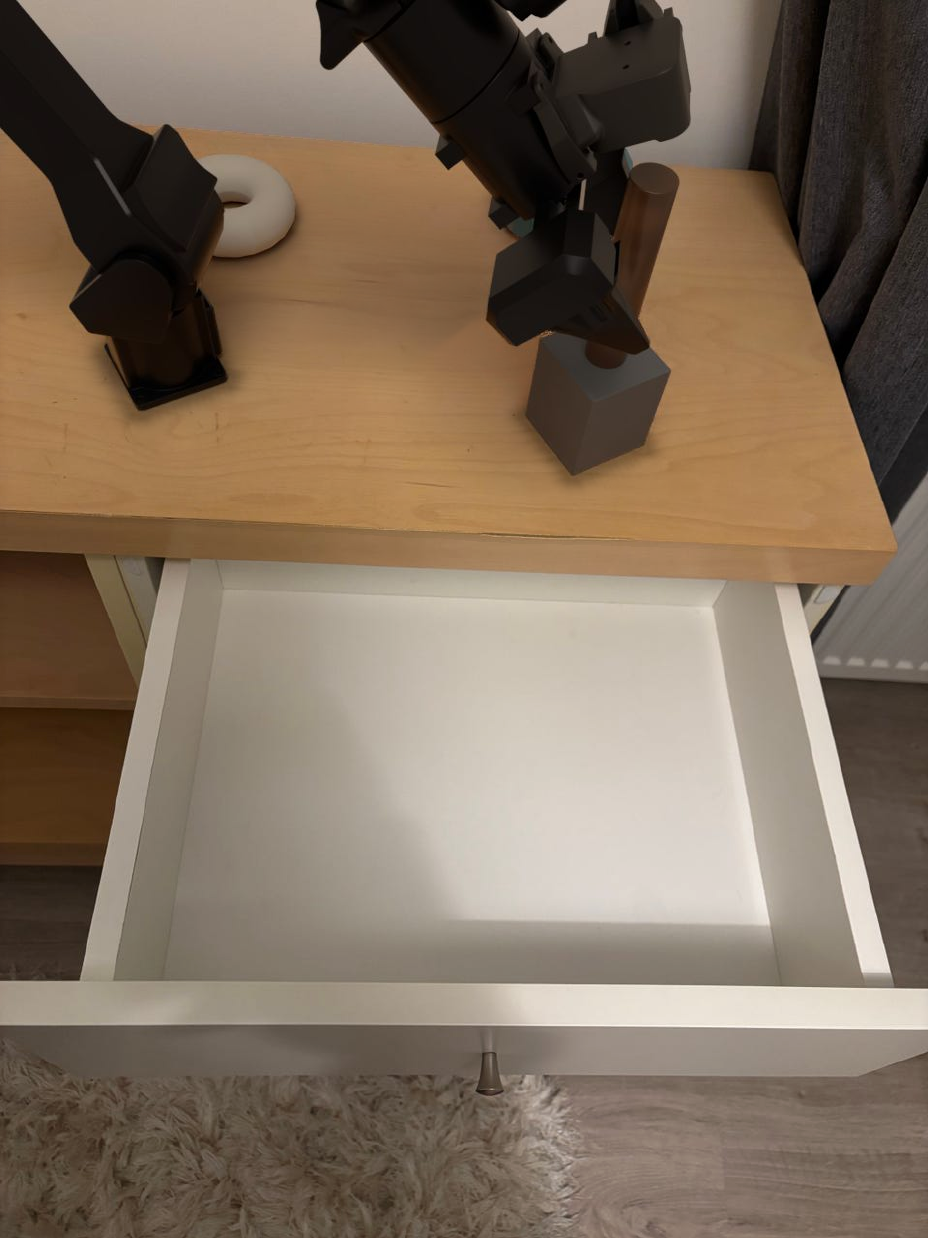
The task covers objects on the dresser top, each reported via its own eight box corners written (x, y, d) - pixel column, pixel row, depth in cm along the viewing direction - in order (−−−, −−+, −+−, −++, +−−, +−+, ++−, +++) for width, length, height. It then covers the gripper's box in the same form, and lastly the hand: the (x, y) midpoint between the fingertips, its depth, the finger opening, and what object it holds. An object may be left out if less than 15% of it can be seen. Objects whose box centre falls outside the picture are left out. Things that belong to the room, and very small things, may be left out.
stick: (600, 374, 56) (649, 198, 45) (576, 347, 57) (619, 169, 46) (634, 361, 56) (690, 185, 46) (610, 334, 57) (659, 156, 47)
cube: (572, 476, 60) (593, 402, 54) (524, 415, 63) (539, 338, 57) (644, 445, 62) (672, 370, 56) (595, 387, 65) (616, 309, 59)
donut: (240, 169, 74) (139, 219, 70) (235, 128, 71) (129, 178, 67) (324, 229, 71) (223, 285, 67) (322, 189, 68) (217, 245, 64)
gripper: (604, 78, 33) (787, 350, 43) (626, -140, 43) (772, 122, 52) (392, 233, 40) (590, 437, 50) (451, 15, 49) (608, 222, 59)
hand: (645, 296), depth 52 cm, fingers open, 8 cm apart
